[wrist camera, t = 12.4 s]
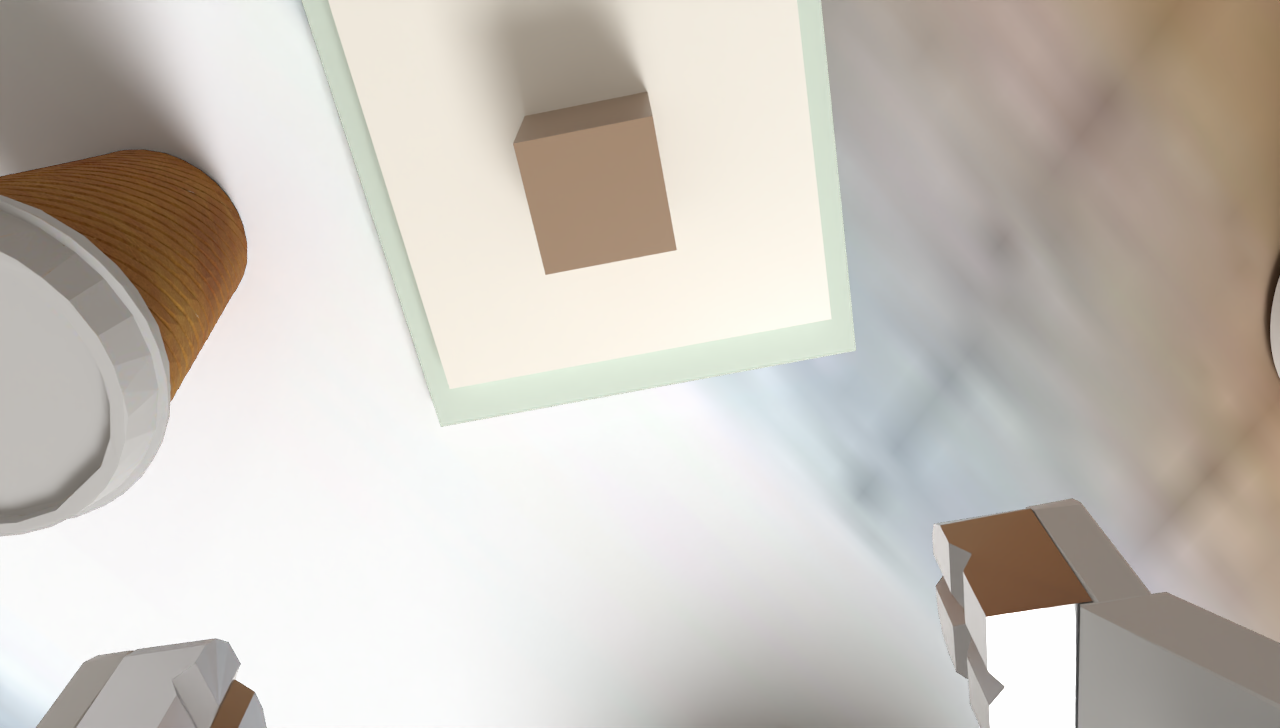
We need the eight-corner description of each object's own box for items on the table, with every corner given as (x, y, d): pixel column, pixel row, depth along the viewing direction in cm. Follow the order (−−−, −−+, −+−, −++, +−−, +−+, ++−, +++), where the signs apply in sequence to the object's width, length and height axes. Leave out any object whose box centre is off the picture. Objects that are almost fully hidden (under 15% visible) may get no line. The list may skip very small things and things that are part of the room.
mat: (794, -196, 28) (800, -199, 27) (849, 339, 36) (856, 350, 35) (284, -85, 29) (273, -84, 28) (444, 414, 37) (441, 426, 36)
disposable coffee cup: (52, 48, 31) (-253, 121, 20) (331, 181, 33) (195, 313, 22) (-10, 290, 34) (-297, 465, 23) (246, 396, 36) (92, 601, 25)
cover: (778, -115, 28) (810, -119, 24) (825, 308, 34) (858, 368, 30) (331, -20, 29) (280, -8, 25) (453, 377, 35) (430, 445, 31)
